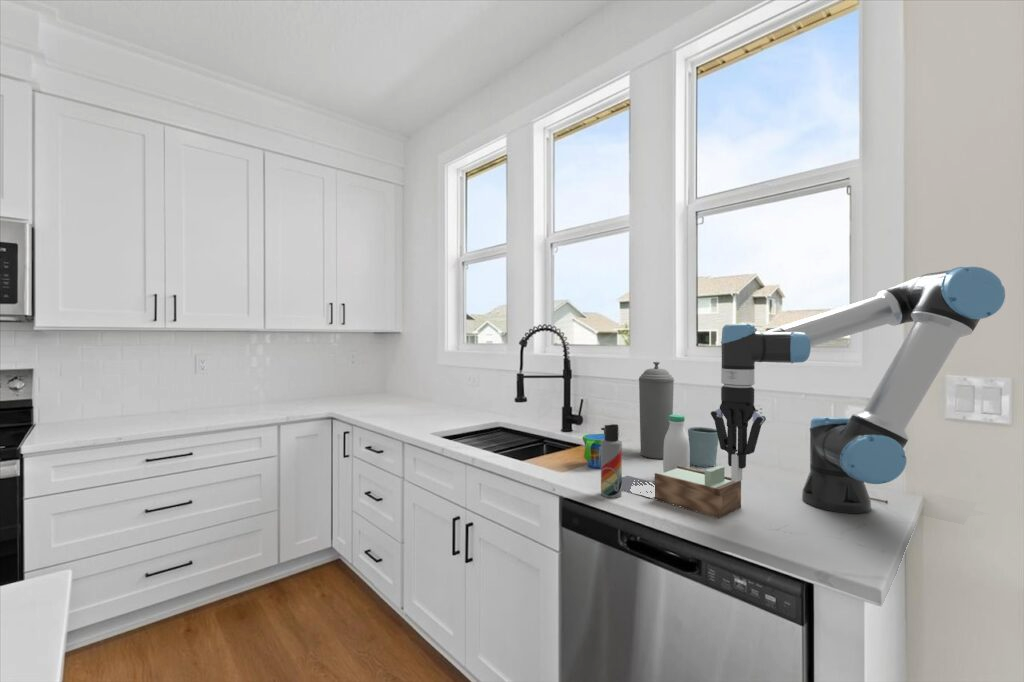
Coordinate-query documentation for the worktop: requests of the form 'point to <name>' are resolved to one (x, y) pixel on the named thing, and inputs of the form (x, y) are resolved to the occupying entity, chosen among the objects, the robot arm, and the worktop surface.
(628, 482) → the mat
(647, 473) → the worktop surface
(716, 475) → the lid
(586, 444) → the snack cup
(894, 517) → the worktop surface
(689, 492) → the walnut box
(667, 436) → the milk bottle
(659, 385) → the canister
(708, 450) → the teal cup
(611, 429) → the lotion bottle
